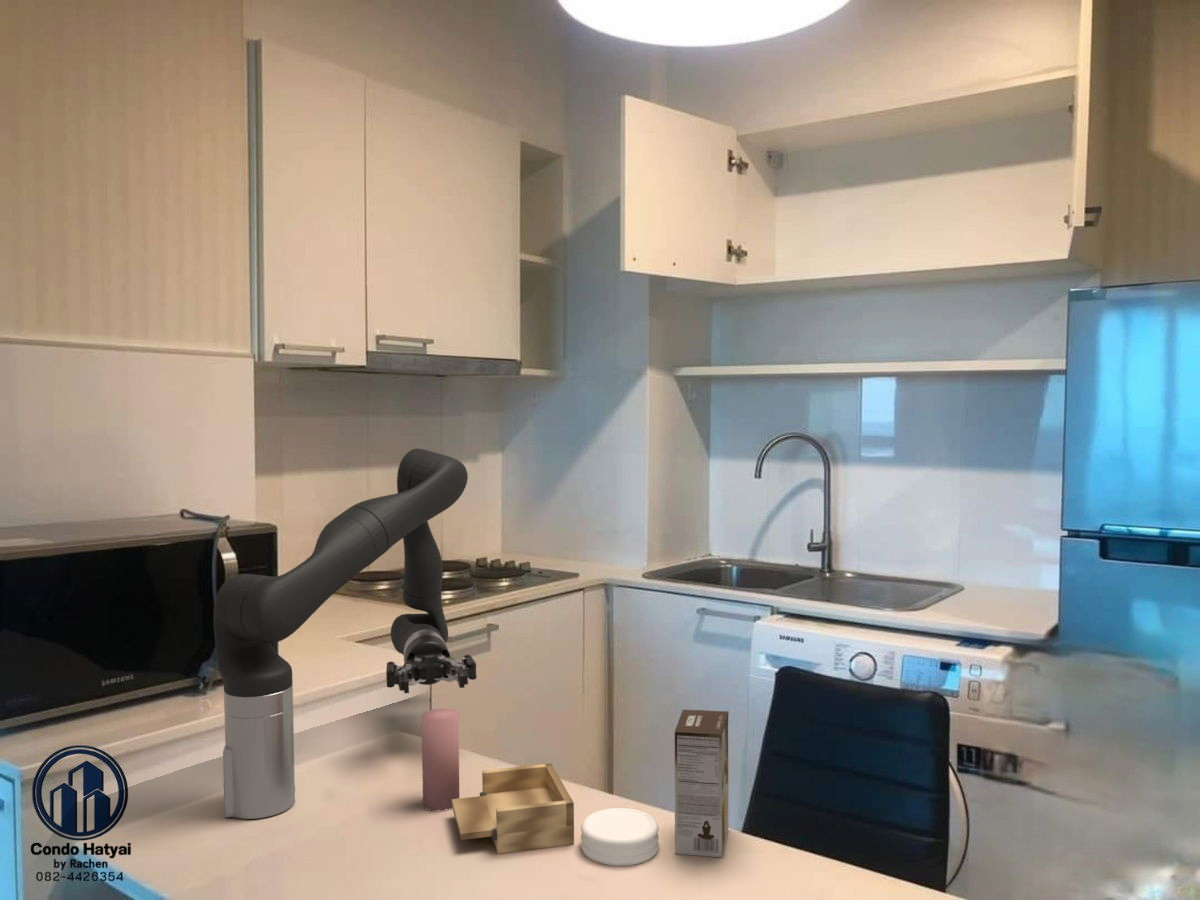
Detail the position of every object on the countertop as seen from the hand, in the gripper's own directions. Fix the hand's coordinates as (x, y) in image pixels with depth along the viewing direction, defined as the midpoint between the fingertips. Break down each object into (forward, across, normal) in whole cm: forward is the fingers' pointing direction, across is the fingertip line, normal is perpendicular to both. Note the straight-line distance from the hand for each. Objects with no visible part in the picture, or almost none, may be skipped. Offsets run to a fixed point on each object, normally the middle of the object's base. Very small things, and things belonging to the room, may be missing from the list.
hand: (434, 684), depth 146 cm
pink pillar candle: (+12, 0, +14) cm, 18 cm away
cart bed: (+22, +8, +14) cm, 27 cm away
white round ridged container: (+32, +21, +14) cm, 40 cm away
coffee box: (+32, +32, +14) cm, 48 cm away
